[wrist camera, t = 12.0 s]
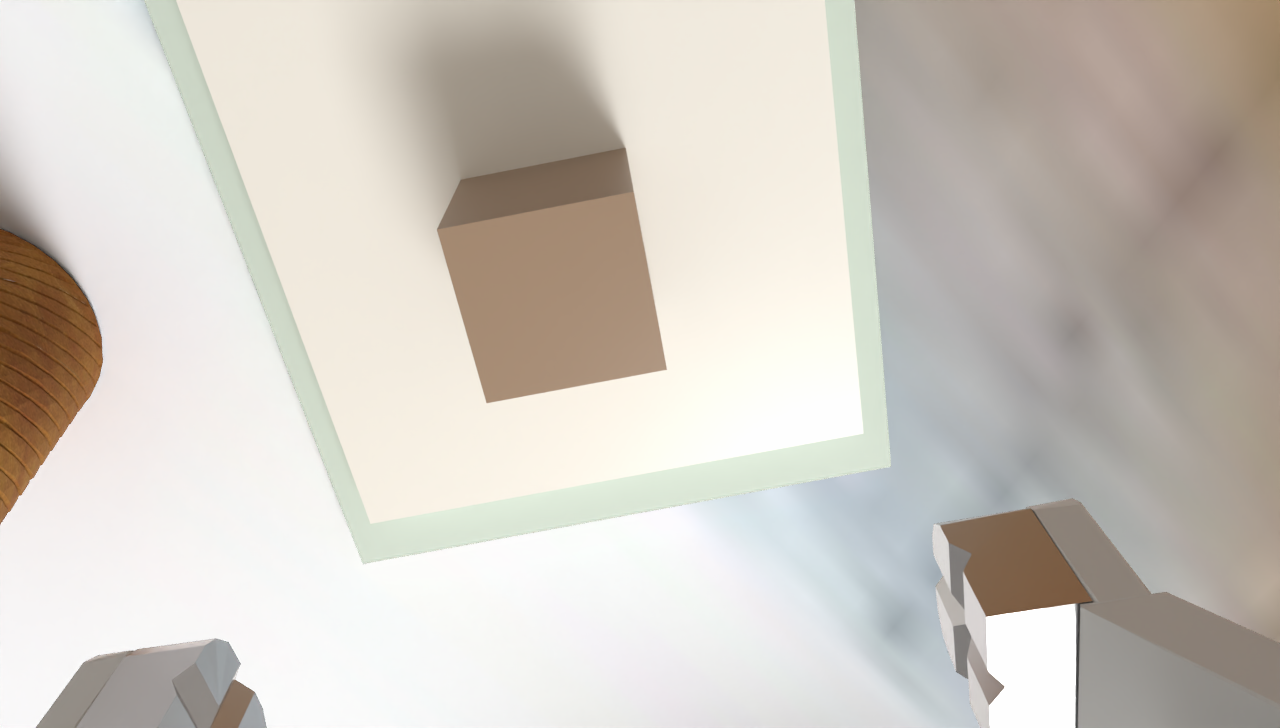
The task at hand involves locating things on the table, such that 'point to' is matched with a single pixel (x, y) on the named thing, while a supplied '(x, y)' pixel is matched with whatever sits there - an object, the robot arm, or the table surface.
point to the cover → (546, 230)
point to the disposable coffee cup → (39, 360)
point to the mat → (599, 496)
